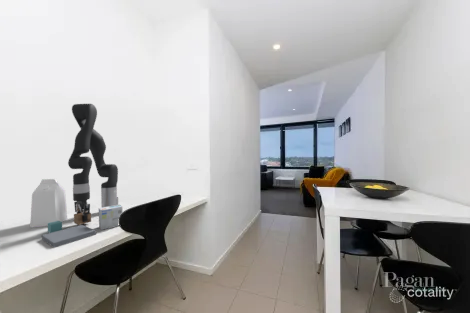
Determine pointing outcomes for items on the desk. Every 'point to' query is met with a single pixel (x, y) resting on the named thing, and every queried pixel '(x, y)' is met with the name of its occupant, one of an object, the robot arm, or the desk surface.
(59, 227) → the teal block
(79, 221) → the walnut block
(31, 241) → the desk surface
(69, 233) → the slate gray board
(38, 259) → the desk surface
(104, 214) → the light bulb box
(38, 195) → the milk
